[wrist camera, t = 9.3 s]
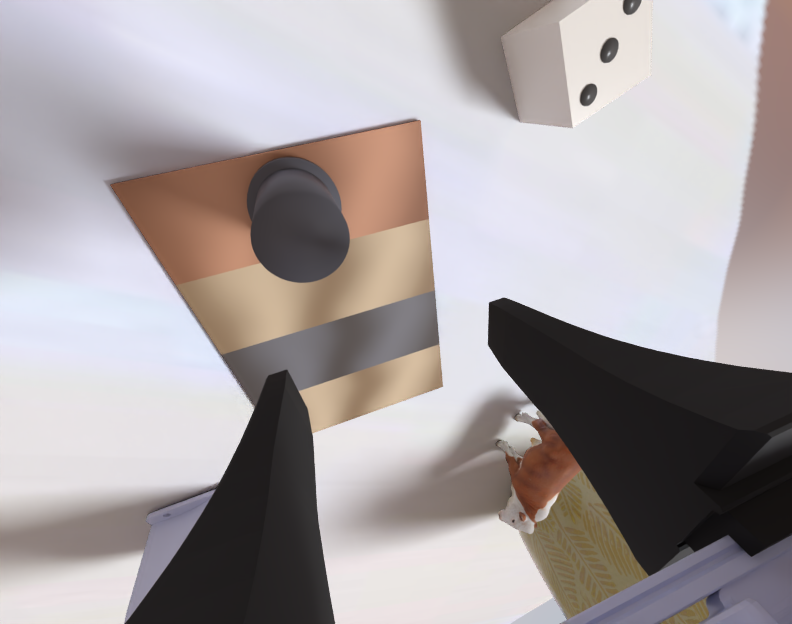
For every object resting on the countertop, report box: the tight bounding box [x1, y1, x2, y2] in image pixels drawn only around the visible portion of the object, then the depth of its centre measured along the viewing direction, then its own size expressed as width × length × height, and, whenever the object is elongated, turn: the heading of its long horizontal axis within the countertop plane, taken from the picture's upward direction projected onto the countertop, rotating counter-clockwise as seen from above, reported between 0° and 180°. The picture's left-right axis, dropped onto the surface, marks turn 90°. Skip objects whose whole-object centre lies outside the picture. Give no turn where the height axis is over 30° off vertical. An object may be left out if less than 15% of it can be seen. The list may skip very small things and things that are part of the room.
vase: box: [519, 470, 709, 624], centre depth 37 cm, size 17×17×27 cm
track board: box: [110, 120, 443, 433], centre depth 20 cm, size 14×20×1 cm
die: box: [501, 0, 653, 128], centre depth 15 cm, size 4×4×4 cm
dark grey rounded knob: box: [247, 157, 350, 283], centre depth 14 cm, size 4×4×5 cm
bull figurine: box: [496, 411, 582, 534], centre depth 33 cm, size 4×14×8 cm, turn 153°
